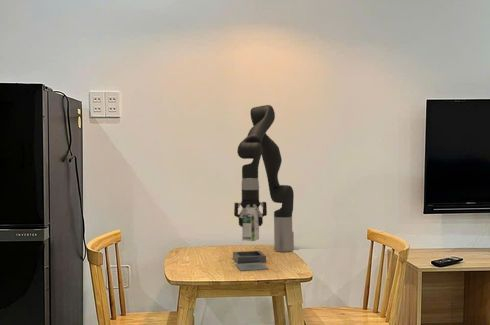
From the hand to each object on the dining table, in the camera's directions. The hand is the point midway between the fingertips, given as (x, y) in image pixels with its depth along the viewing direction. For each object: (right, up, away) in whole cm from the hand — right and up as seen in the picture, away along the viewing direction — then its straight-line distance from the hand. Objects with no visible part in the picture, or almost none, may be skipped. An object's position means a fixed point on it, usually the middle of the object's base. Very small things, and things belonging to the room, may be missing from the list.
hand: (250, 226), depth 212 cm
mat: (0, -18, 0) cm, 18 cm away
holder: (-1, -18, +14) cm, 23 cm away
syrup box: (0, -6, 0) cm, 6 cm away
